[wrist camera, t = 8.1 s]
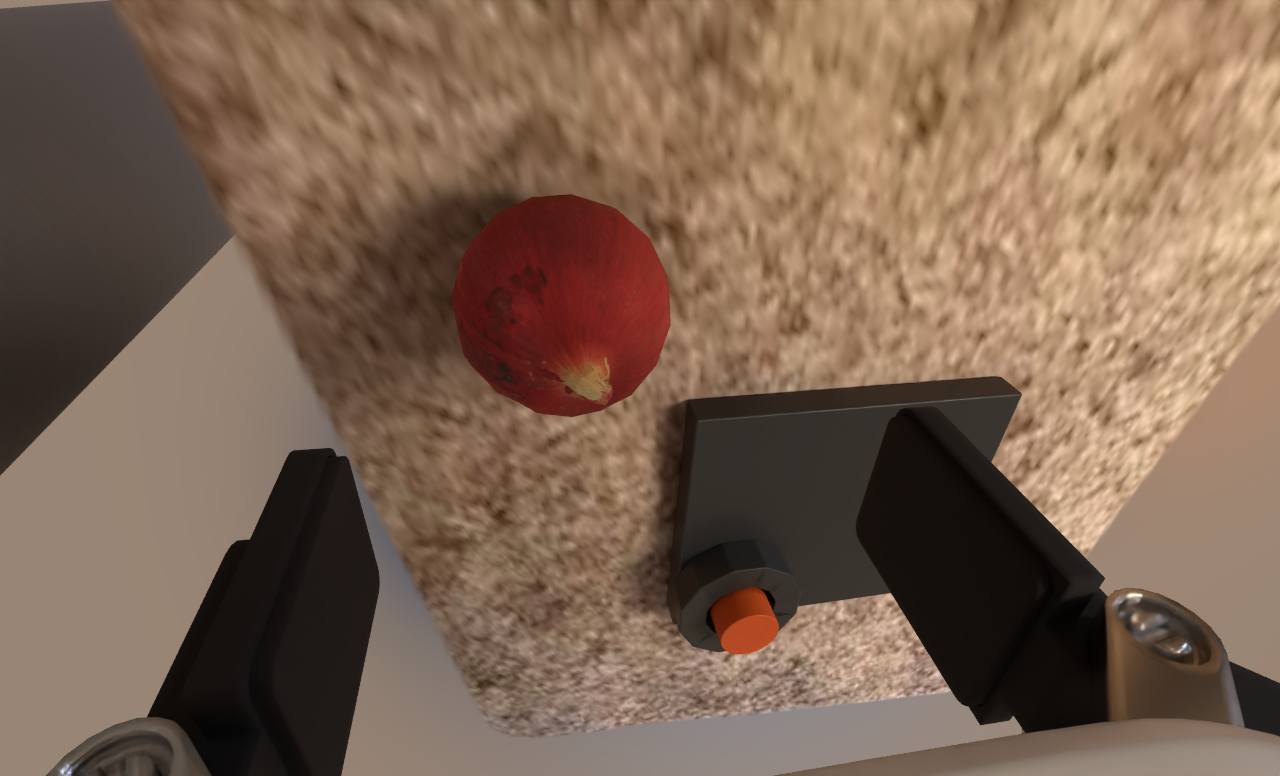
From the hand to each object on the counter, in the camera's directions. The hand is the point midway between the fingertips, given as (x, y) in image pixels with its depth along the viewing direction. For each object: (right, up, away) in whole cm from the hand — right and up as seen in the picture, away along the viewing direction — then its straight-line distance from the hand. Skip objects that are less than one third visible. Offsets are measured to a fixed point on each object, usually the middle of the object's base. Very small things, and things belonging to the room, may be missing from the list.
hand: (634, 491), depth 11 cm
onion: (-3, +6, +9) cm, 12 cm away
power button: (+5, -8, +17) cm, 19 cm away
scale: (+8, -3, +18) cm, 20 cm away
